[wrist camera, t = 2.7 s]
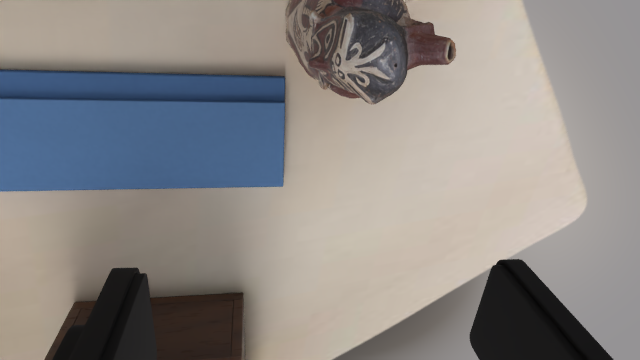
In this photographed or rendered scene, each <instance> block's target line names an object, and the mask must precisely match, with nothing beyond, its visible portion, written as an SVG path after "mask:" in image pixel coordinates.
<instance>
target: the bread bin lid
mask: <svg viewBox="0 0 640 360" xmlns="http://www.w3.org/2000/svg"><path fill="white" fill-rule="evenodd" d="M201 360H242V357H241V356H238V357H226V358H213V359H201Z"/></svg>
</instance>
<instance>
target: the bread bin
mask: <svg viewBox="0 0 640 360" xmlns="http://www.w3.org/2000/svg"><path fill="white" fill-rule="evenodd" d="M150 300H151V308H152V316H153V323H154V331H155V339H156V346H157V360H201V359H213V358H226V357H238V356H241V357H242V360H245V329H244V297H243V293H231V294H213V295H196V296H178V297H160V298H150ZM95 303H96V301H90V302H75V303H74V304H73V306H72V308H71V310H70V312H69V314H68V316H67V318H66V319H65V321H64V323H63V325H62V327H61V329H60V331H59V333H58V335H57V337H56V339H55V341H54V342H53V344H52V346H51V348H50V350H49V352H48V354H47V356H46V358H45V360H52V359H53V357H54V355H55V353H56V351H57V349H58V347H59V345H60V344H61V342H62V340H63V338H64V336H65V334H66V332H67V331H68V329H69V328H70V327H71V326H73V325H85V324H86V322H87V320H88V318H89V315H90V313H91V311H92V309H93V307H94V305H95Z"/></svg>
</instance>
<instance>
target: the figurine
mask: <svg viewBox="0 0 640 360" xmlns="http://www.w3.org/2000/svg"><path fill="white" fill-rule="evenodd" d="M286 19H287V29H286V38H287V42H288V43H289V44H290V46H291V48H292V49H293V50H294V52H295V54H296V56H297V57H298V59H299V62H300V64H301V65H302V66H303V67H304V69H305V71H306V72H307V73H308V75H310V76H311V77H312V78H314V79H316V80H318V81H319V85H320V87H321V88H322V89H324V90H326V89H327V88H329V89H331V90H332V91H334V92H335V93H337V94H339V95H341V96H344V97H348V98H362V99H363V100H365V101H366V102H368V103H369V104H376V103H378V102H380V101H381V100H383V99H385V98H386V97H388V96H390V95H391V94H393V93H394V92H395V91H397V90H398V89H399V88H400V86H401V85H402V84H403V82H404V80H405V78H406V75H407V70H409V69H412V68H414V67H416V66H419V65H448V64H449V63H451V62H452V61H453V60H454V58H455V56H456V49H455V43H454V42H453V41H452V40H451V39H450V38H446V37H442V36H437V35H435V33H434V27H433V24H432V23H430V22H428V23H422V22H418V21H415V20H413V19H410V15H409V12H408V9H407V6H406V4H405V3H404V1H403V0H291V1H290V3H289V5H288V7H287V9H286Z"/></svg>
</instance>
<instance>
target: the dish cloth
mask: <svg viewBox="0 0 640 360" xmlns="http://www.w3.org/2000/svg"><path fill="white" fill-rule="evenodd" d="M284 124H285V77H284V76H248V75H206V74H165V73H124V72H82V71H41V70H0V191H52V190H110V189H167V188H225V187H282V186H283V173H284Z"/></svg>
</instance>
